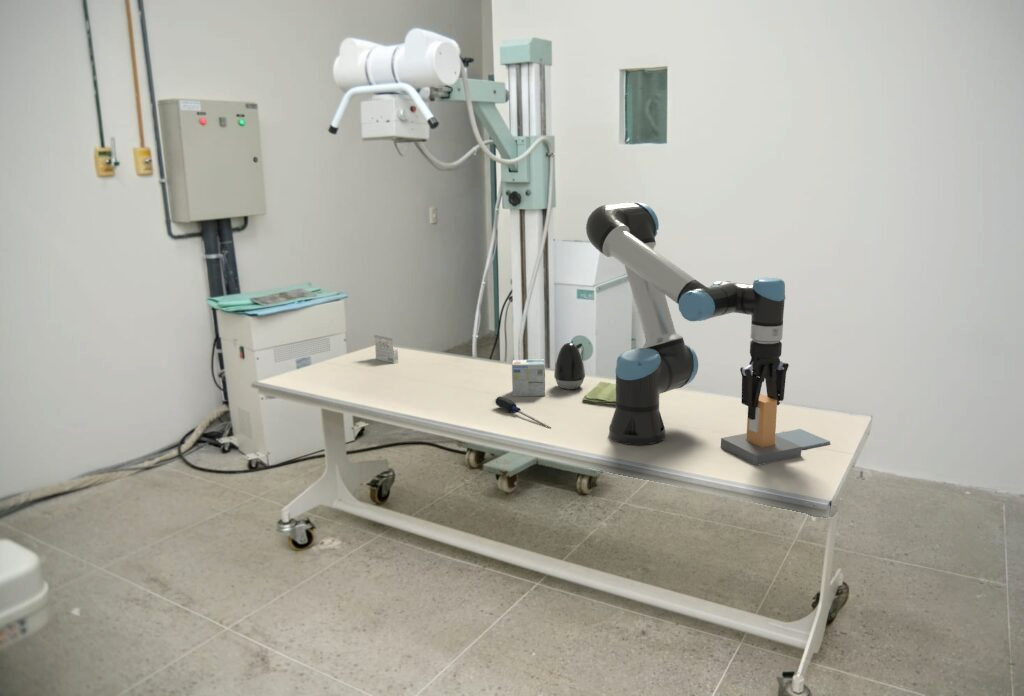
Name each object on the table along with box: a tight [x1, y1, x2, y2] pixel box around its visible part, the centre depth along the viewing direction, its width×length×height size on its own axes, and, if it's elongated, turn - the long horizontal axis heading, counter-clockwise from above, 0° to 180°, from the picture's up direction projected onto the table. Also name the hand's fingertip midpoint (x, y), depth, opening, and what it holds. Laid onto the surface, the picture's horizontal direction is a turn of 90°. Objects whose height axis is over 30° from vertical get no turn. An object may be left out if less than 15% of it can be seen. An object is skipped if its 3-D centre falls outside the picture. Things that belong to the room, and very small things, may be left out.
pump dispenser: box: [553, 342, 586, 390], centre depth 261 cm, size 10×10×15 cm
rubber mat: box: [775, 428, 831, 450], centre depth 210 cm, size 11×11×1 cm
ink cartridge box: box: [373, 334, 399, 364], centre depth 302 cm, size 2×11×10 cm, turn 48°
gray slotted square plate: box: [720, 432, 802, 466], centre depth 203 cm, size 14×14×2 cm
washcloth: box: [581, 381, 616, 406], centre depth 251 cm, size 13×18×3 cm
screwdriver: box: [495, 396, 552, 429], centre depth 234 cm, size 26×4×4 cm, turn 36°
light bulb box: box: [511, 358, 546, 397], centre depth 256 cm, size 11×7×11 cm, turn 88°
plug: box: [746, 393, 778, 448], centre depth 201 cm, size 4×6×12 cm, turn 23°
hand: (761, 429), depth 202 cm, fingers closed on plug, 4 cm apart
